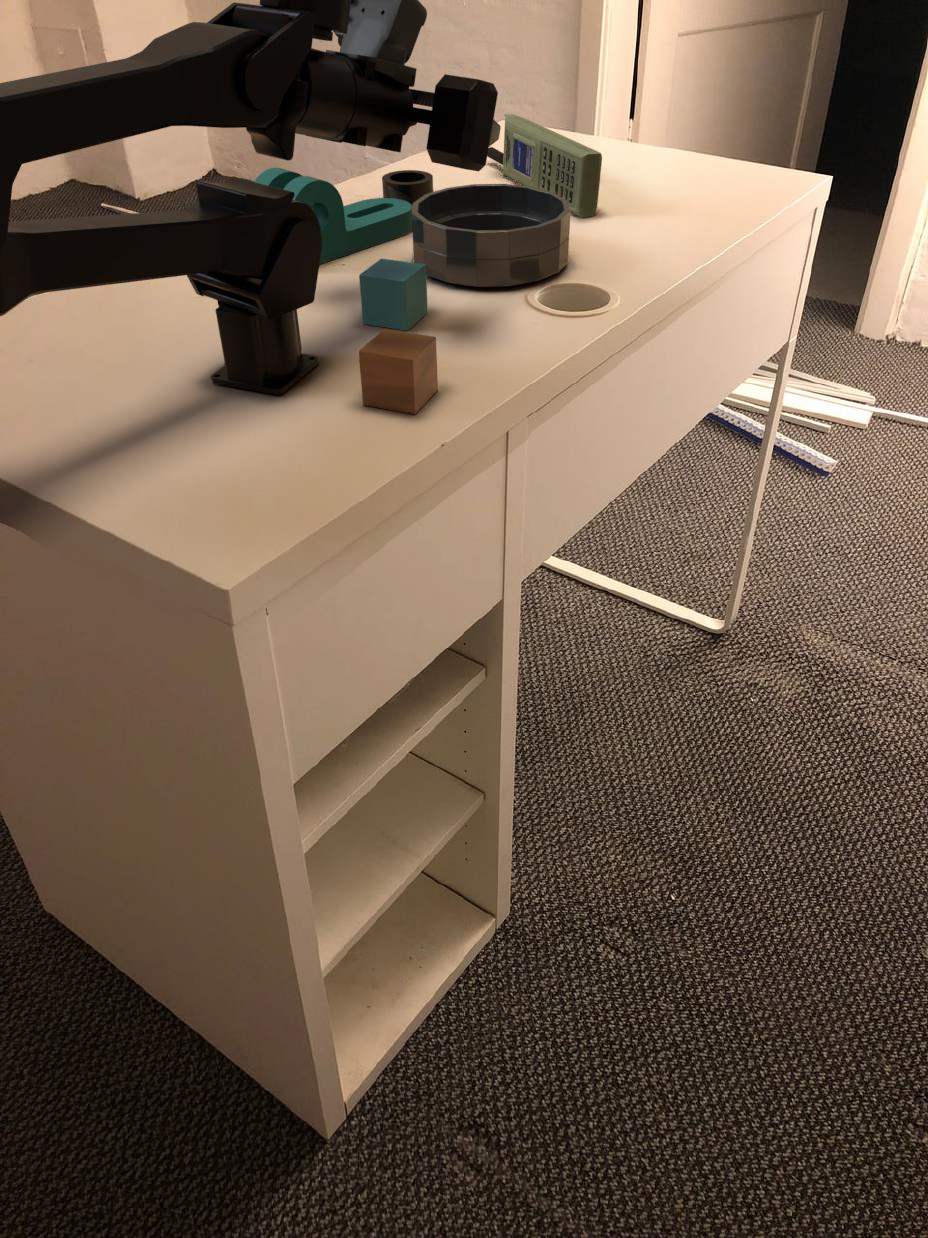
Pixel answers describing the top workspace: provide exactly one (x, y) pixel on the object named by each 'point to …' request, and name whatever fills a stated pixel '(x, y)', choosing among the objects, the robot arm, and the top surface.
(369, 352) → the walnut block
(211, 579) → the top surface
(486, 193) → the faceted round tray
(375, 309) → the teal block
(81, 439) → the top surface
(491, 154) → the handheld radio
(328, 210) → the bracket
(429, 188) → the duct tape
